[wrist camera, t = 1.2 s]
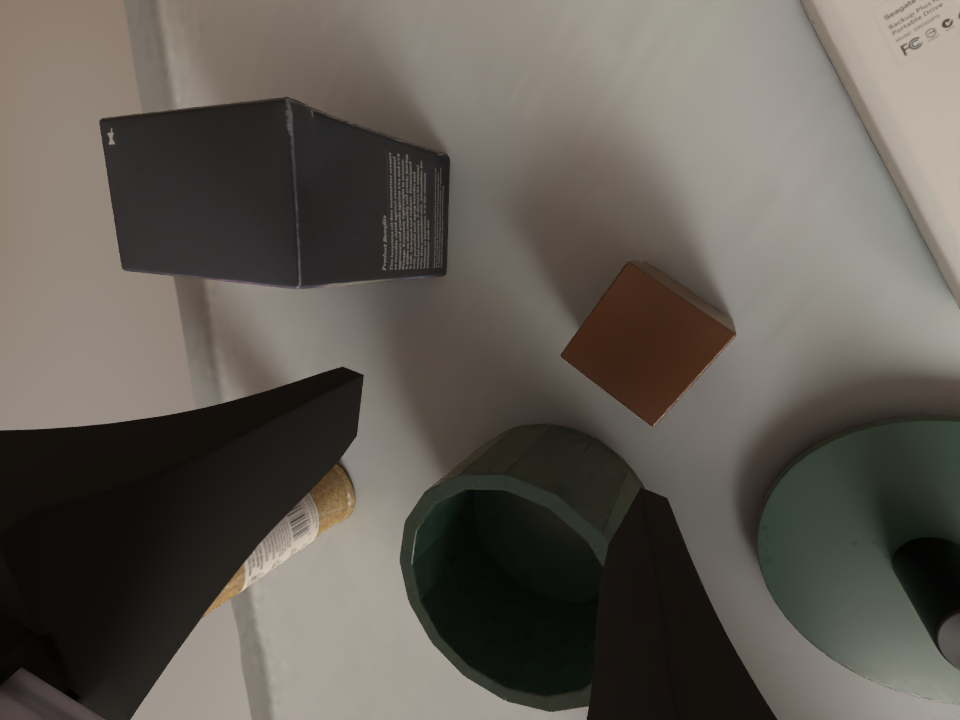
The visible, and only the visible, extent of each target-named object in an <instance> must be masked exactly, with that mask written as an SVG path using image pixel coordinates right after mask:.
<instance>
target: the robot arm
mask: <svg viewBox="0 0 960 720" xmlns="http://www.w3.org/2000/svg"><path fill="white" fill-rule="evenodd" d="M363 377H364V375H362V374H360V373H357V372H355V371H352V370H350V369H348V368H345V367H340V368H337V369H333V370H330V371H327V372H324V373H320V374H317V375H314V376H311V377H308V378H305V379H302V380H299V381H296V382H293V383H290V384H287V385H284V386H281V387H278V388H275V389H271V390H268V391H265V392H262V393H258V394H255V395H251V396H247V397H244V398H240V399H237V400H233V401H229V402H226V403H222V404H218V405H214V406H210V407H206V408H201V409H197V410H192V411H187V412H182V413H177V414H172V415H166V416H160V417H153V418H146V419H139V420H132V421H126V422H118V423H110V424H101V425H91V426H81V427H67V428H54V429H37V430H4V431H0V720H130V719H131V718H132V716H133V715H134V713H135V712H136V710H137V709H138V707H139V706H140V704H141V703H142V701H143V700H144V698H145V697H146V696H147V694H148V693H149V691H150V690H151V688H152V687H153V685H154V684H155V682H156V681H157V680H158V678H159V677H160V675H161V674H162V672H163V671H164V669H165V668H166V666H167V665H168V664H169V662H170V661H171V659H172V658H173V656H174V655H175V654H176V652H177V651H178V649H179V648H180V647H181V645H182V644H183V643H184V641H185V640H186V638H187V637H188V635H189V634H190V633H191V632H192V630H193V629H194V627H195V626H196V625H197V623H198V622H199V621H200V619H201V618H202V616H203V615H204V614H205V612H206V611H207V610H208V609H209V607H210V606H211V605H212V603H213V602H214V601H215V599H216V598H217V597H218V596H219V594H220V593H221V592H222V590H223V589H224V588H225V586H226V585H227V584H228V582H229V581H230V580H231V579H232V577H233V576H234V575H235V574H236V572H237V571H238V570H239V569H240V567H241V566H242V565H243V564H244V562H245V561H246V560H247V559H248V557H249V556H250V555H251V554H252V552H253V551H254V550H255V549H256V548H257V546H258V545H259V544H260V543H261V542H262V541H263V539H264V538H265V537H266V536H267V535H268V534H269V533H270V532H271V531H272V529H273V528H274V527H275V526H276V525H277V524H278V523H279V522H280V521H281V520H282V519H283V518H284V517H285V516H286V515H287V514H288V513H289V512H290V511H291V510H292V509H293V508H294V507H295V506H296V505H297V504H298V503H299V502H300V501H301V500H302V499H303V498H304V497H305V496H306V495H307V494H308V493H309V492H310V491H311V490H312V489H313V488H314V487H315V486H316V485H317V484H318V483H319V482H320V480H321V479H322V478H323V477H324V476H325V475H326V474H327V473H328V472H329V471H330V470H331V469H332V468H333V467H334V466H335V464H336V463H337V462H338V461H339V459H340V458H341V457H342V455H343V454H344V453H345V451H346V450H347V449H348V447H349V446H350V444H351V443H352V442H353V440H354V439H355V438H356V436H357V429H358V420H359V412H360V403H361V394H362V386H363ZM587 720H777V718H776V717H775V715H774V714H773V712H772V710H771V709H770V707H769V706H768V704H767V703H766V701H765V699H764V698H763V696H762V695H761V693H760V691H759V690H758V688H757V686H756V685H755V683H754V681H753V680H752V678H751V676H750V675H749V673H748V671H747V669H746V668H745V666H744V664H743V663H742V661H741V659H740V657H739V656H738V654H737V652H736V650H735V649H734V647H733V645H732V643H731V641H730V640H729V638H728V636H727V634H726V632H725V630H724V628H723V626H722V624H721V622H720V620H719V618H718V616H717V614H716V612H715V610H714V608H713V606H712V604H711V602H710V600H709V597H708V595H707V593H706V591H705V589H704V586H703V584H702V582H701V580H700V577H699V575H698V573H697V571H696V568H695V566H694V564H693V561H692V559H691V557H690V554H689V552H688V549H687V547H686V544H685V542H684V539H683V537H682V534H681V532H680V529H679V527H678V524H677V521H676V519H675V516H674V514H673V511H672V508H671V506H670V503H669V501H668V499H667V498H666V497H663V496H661V495H658V494H656V493H653V492H651V491H648V490H646V489H643V488H640V489H639V491H638V493H637V495H636V497H635V498H634V500H633V502H632V504H631V506H630V507H629V509H628V511H627V513H626V515H625V516H624V518H623V520H622V522H621V523H620V525H619V527H618V529H617V531H616V532H615V534H614V536H613V538H612V540H611V541H610V543H609V545H608V550H607V554H606V559H605V563H604V568H603V573H602V578H601V583H600V591H599V602H598V613H597V625H596V637H595V650H594V662H593V674H592V686H591V695H590V703H589V710H588V716H587Z"/></svg>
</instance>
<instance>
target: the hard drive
mask: <svg viewBox="0 0 960 720" xmlns="http://www.w3.org/2000/svg"><path fill="white" fill-rule="evenodd" d="M800 2H801V4H802V6H803V8H804V10H805V12H806V14H807V16H808V18H809V20H810V21H811V22H812V25H813V28H814V30H815V32H816V34H817V36H818V38H819V40H820V42H821V43H822V45H823V47H824V49H825V51H826V53H827V55H828V57H829V59H830V61H831V62H832V64H833V66H834V68H835V70H836V72H837V74H838V76H839V78H840V80H841V82H842V84H843V86H844V88H845V89H846V91H847V93H848V95H849V97H850V99H851V101H852V103H853V105H854V107H855V109H856V111H857V113H858V114H859V116H860V118H861V120H862V122H863V124H864V126H865V128H866V130H867V132H868V134H869V136H870V138H871V140H872V142H873V143H874V145H875V147H876V149H877V151H878V152H879V154H880V156H881V158H882V160H883V162H884V164H885V166H886V168H887V170H888V171H889V173H890V175H891V177H892V179H893V181H894V183H895V185H896V187H897V189H898V191H899V193H900V195H901V197H902V198H903V200H904V202H905V204H906V206H907V208H908V210H909V212H910V214H911V215H912V217H913V219H914V221H915V223H916V225H917V227H918V229H919V230H920V232H921V235H922V237H923V239H924V241H925V243H926V245H927V246H928V248H929V250H930V252H931V254H932V256H933V258H934V260H935V262H936V264H937V266H938V268H939V270H940V272H941V274H942V276H943V277H944V279H945V281H946V283H947V285H948V287H949V289H950V291H951V293H952V295H953V296H954V298H955V300H956V302H957V304H958V306H959V308H960V0H800Z"/></svg>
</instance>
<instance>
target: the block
mask: <svg viewBox="0 0 960 720" xmlns="http://www.w3.org/2000/svg"><path fill="white" fill-rule="evenodd" d="M735 336H736V331H735V327H734V323H733V320H732V318H730V317H729V316H727V315H726V314H724V313H723V312H721V311H720V310H718V309H717V308H715V307H714V306H712V305H711V304H709V303H708V302H706V301H705V300H703V299H702V298H700V297H699V296H697V295H696V294H694V293H693V292H691V291H690V290H688V289H687V288H685V287H684V286H682V285H681V284H679V283H678V282H676V281H675V280H673V279H672V278H670V277H669V276H667V275H666V274H664V273H663V272H661V271H660V270H658V269H657V268H655V267H654V266H652V265H651V264H649V263H648V262H646V261H635V262H627V263H626V265H625V266H624V267H623V269H622V270H621V272H620V273H619V274H618V276H617V277H616V278H615V280H614V281H613V283H612V284H611V285H610V287H609V288H608V290H607V291H606V292H605V294H604V295H603V296H602V298H601V299H600V301H599V302H598V303H597V305H596V306H595V308H594V309H593V310H592V312H591V313H590V315H589V316H588V317H587V319H586V320H585V321H584V323H583V324H582V326H581V327H580V328H579V330H578V331H577V333H576V334H575V335H574V337H573V338H572V339H571V341H570V342H569V344H568V345H567V346H566V348H565V349H564V351H563V352H562V353H561V357H562V358H563V359H564V360H566V361H567V362H568V363H569V364H571V365H572V366H573V367H575V368H576V369H577V370H579V371H580V372H581V373H583V374H584V375H585V376H586V377H588V378H589V379H590V380H592V381H593V382H594V383H596V384H597V385H598V386H600V387H601V388H602V389H603V390H605V391H606V392H607V393H609V394H610V395H611V396H613V397H614V398H615V399H617V400H618V401H619V402H620V403H622V404H623V405H624V406H626V407H627V408H628V409H630V410H631V411H632V412H634V413H635V414H636V415H638V416H639V417H640V418H641V419H643V420H644V421H645V422H647V423H648V424H649V425H651V426H652V427H654V426H655V425H656V424H657V423H658V422H659V421H660V420H661V419H662V418H663V417H664V415H665V414H666V413H667V412H668V411H669V410H670V409H671V408H672V407H673V405H674V404H675V403H676V402H677V401H678V400H679V399H680V398H681V397H682V395H683V394H684V393H685V392H686V391H687V390H688V389H689V388H690V387H691V385H692V384H693V383H694V382H695V381H696V380H697V379H698V378H699V377H700V375H701V374H702V373H703V372H704V371H705V370H706V369H707V368H708V367H709V365H710V364H711V363H712V362H713V361H714V360H715V359H716V358H717V357H718V355H719V354H720V353H721V352H722V351H723V350H724V349H725V348H726V347H727V345H728V344H729V343H730V342H731V341H732V340H733V339H734V338H735Z"/></svg>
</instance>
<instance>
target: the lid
mask: <svg viewBox="0 0 960 720" xmlns="http://www.w3.org/2000/svg"><path fill="white" fill-rule="evenodd" d="M756 541H757V554H758V559H759V564H760V568H761V572H762V575H763V577H764V580H765V583H766V586H767V588H768V590H769V592H770V593H771V595H772V597H773V599H774V601H775V603H776V604H777V605H778V607H779V608H780V610H781V611H782V613H783V614H784V615H785V617H786V618H787V619H788V620H789V621H790V623H791V624H792V625H793V626H794V627H795V628H796V629H797V630H798V631H799V633H801V634H802V635H803V636H804V637H805V638H806V639H807V640H808V641H809V642H811V643H812V644H813V645H814V646H815V647H816V648H818V649H819V650H820V651H822V652H823V653H825V654H826V655H827V656H829V657H830V658H831V659H833V660H834V661H836V662H838V663H839V664H841V665H843V666H844V667H846V668H848V669H849V670H851V671H853V672H855V673H857V674H859V675H861V676H863V677H865V678H867V679H869V680H871V681H873V682H876V683H878V684H881V685H884V686H886V687H889V688H891V689H894V690H897V691H900V692H903V693H907V694H910V695H913V696H917V697H920V698H925V699H930V700H935V701H940V702H944V703H952V704H960V418H956V417H946V416H914V417H903V418H893V419H887V420H882V421H877V422H871V423H867V424H863V425H860V426H857V427H854V428H850V429H847V430H844V431H842V432H839V433H837V434H835V435H833V436H830V437H828V438H826V439H824V440H822V441H820V442H819V443H817V444H815V445H814V446H812V447H810V448H808V449H807V450H806V451H804V452H803V453H802V454H800V455H799V456H798V457H797V458H795V459H794V460H793V461H792V462H791V463H790V464H789V465H788V466H787V467H786V468H785V469H784V470H783V471H782V472H781V473H780V474H779V475H778V477H777V478H776V480H775V481H774V483H773V484H772V485H771V487H770V488H769V490H768V492H767V494H766V496H765V499H764V501H763V503H762V506H761V509H760V513H759V516H758V522H757V530H756Z"/></svg>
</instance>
